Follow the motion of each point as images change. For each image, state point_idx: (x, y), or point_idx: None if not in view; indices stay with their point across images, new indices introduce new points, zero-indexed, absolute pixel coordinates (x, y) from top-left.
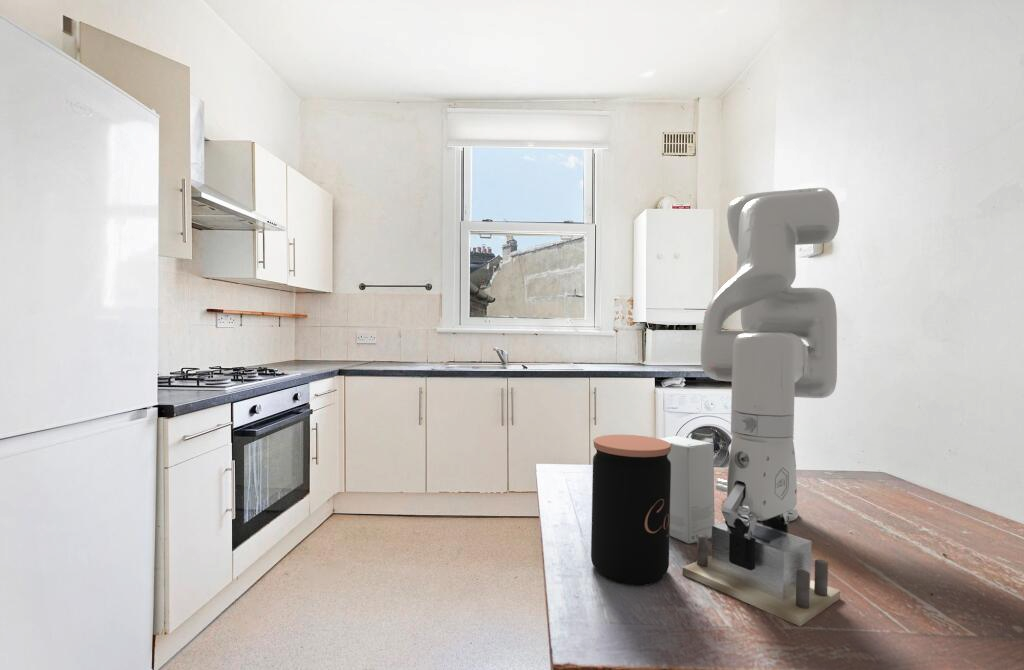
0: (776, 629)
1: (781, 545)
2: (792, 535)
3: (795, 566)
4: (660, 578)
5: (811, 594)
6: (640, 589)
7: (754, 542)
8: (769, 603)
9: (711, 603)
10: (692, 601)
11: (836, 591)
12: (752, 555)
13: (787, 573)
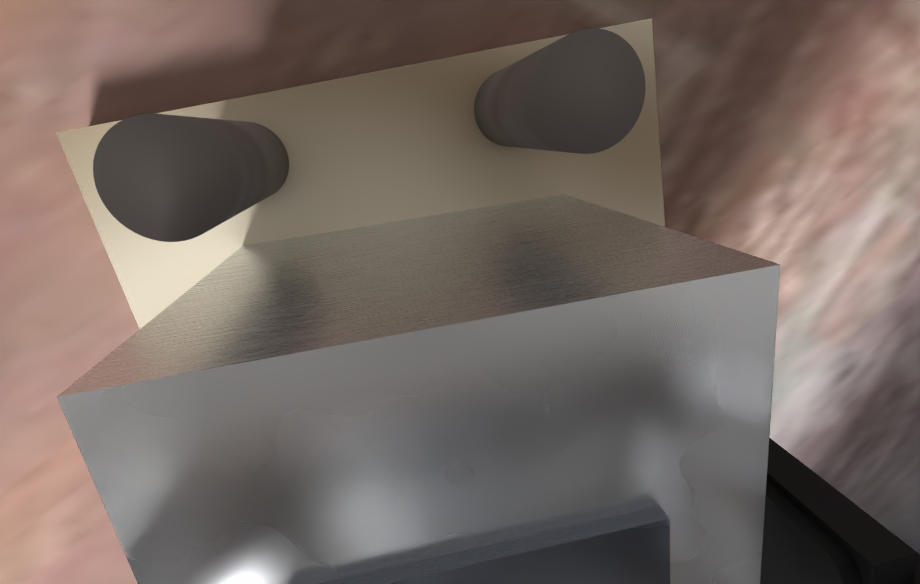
0: (751, 70)
1: (623, 411)
2: None
3: (462, 255)
4: None
5: (323, 179)
6: (906, 529)
7: (859, 530)
8: (654, 208)
9: (783, 360)
10: (832, 399)
11: (103, 134)
12: (777, 447)
13: (579, 229)
